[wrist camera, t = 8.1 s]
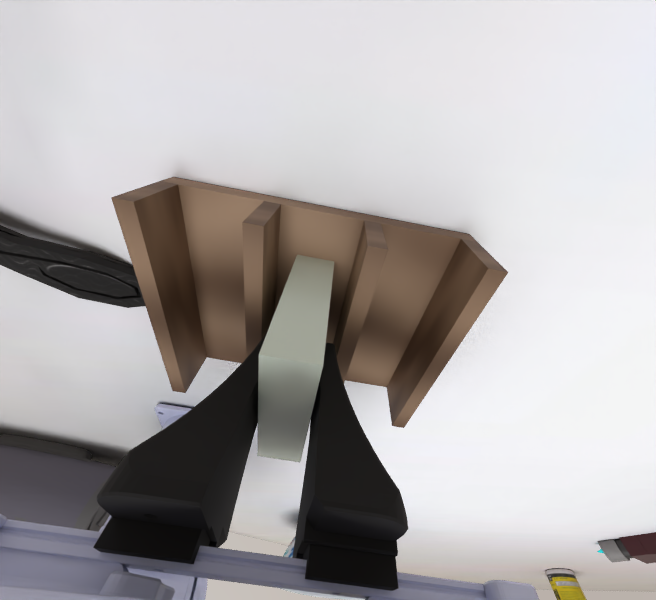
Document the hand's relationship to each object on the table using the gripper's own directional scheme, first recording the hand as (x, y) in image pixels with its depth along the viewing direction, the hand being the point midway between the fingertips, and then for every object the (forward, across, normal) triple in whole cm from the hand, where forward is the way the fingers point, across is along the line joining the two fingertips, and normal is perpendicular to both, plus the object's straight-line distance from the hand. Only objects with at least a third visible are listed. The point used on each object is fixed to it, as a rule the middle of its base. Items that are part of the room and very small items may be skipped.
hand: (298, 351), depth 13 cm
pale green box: (+3, 0, 0) cm, 3 cm away
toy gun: (+5, -55, +33) cm, 64 cm away
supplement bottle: (+5, -57, +55) cm, 79 cm away
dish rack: (+4, 0, 0) cm, 4 cm away
